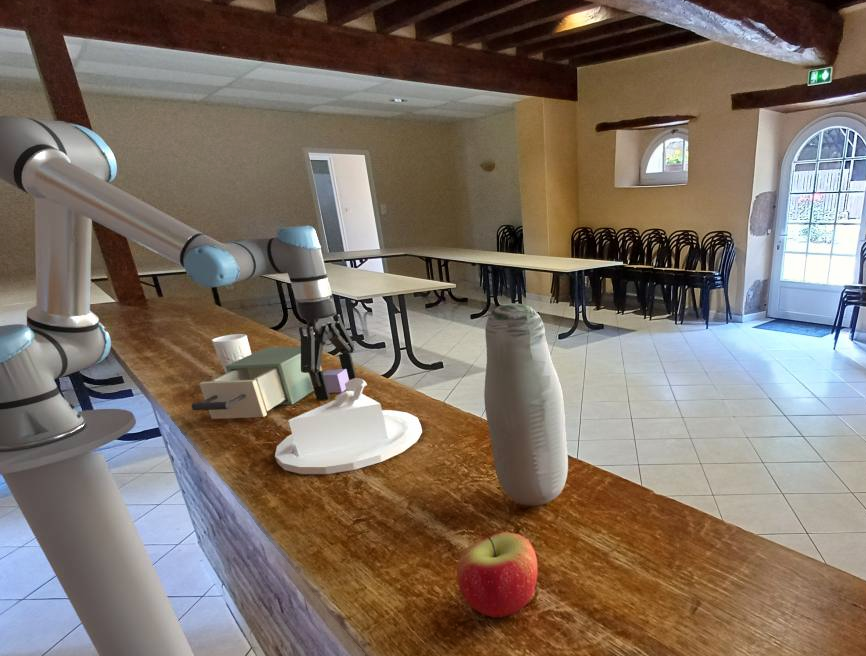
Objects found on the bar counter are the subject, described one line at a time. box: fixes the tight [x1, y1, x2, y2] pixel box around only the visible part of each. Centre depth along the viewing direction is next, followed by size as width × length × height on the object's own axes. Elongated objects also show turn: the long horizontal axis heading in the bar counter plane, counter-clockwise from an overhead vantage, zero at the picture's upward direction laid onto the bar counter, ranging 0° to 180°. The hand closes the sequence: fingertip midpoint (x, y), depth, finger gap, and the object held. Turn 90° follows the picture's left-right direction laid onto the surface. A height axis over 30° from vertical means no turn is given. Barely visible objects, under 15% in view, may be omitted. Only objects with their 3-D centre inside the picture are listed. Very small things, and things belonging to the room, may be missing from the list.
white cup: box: [211, 333, 252, 374], centre depth 146 cm, size 8×8×10 cm
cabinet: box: [226, 345, 323, 406], centre depth 128 cm, size 15×13×10 cm
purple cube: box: [323, 368, 349, 394], centre depth 130 cm, size 4×4×4 cm
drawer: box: [191, 367, 287, 420], centre depth 117 cm, size 20×11×8 cm, turn 177°
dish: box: [274, 377, 423, 475], centre depth 100 cm, size 25×25×11 cm
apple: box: [456, 532, 539, 618], centre depth 58 cm, size 8×8×10 cm
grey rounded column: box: [483, 303, 569, 507], centre depth 74 cm, size 10×10×28 cm
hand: (337, 388), depth 131 cm, fingers open, 13 cm apart
